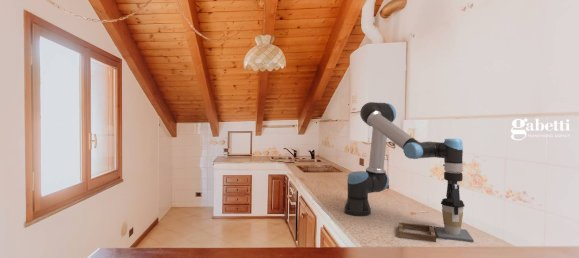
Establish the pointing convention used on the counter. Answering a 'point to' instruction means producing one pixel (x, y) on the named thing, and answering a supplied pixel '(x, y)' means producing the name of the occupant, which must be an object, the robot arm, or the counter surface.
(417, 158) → the robot arm
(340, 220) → the counter surface
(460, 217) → the coffee cup
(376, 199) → the counter surface
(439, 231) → the trivet mat
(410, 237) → the walnut collar
